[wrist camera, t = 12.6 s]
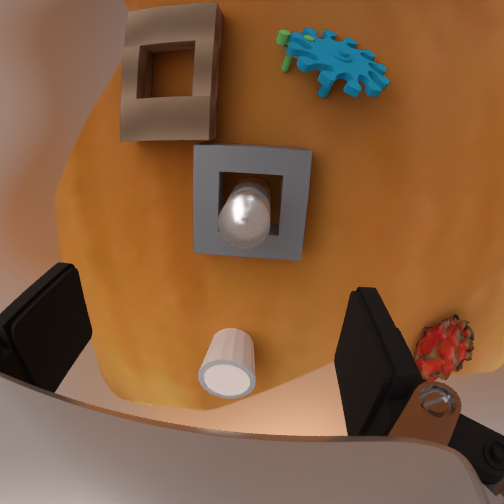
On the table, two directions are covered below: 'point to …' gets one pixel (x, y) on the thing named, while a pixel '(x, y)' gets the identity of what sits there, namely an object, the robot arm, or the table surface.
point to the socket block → (260, 162)
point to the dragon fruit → (444, 349)
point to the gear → (333, 61)
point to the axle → (246, 214)
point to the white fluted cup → (229, 365)
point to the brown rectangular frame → (141, 66)
